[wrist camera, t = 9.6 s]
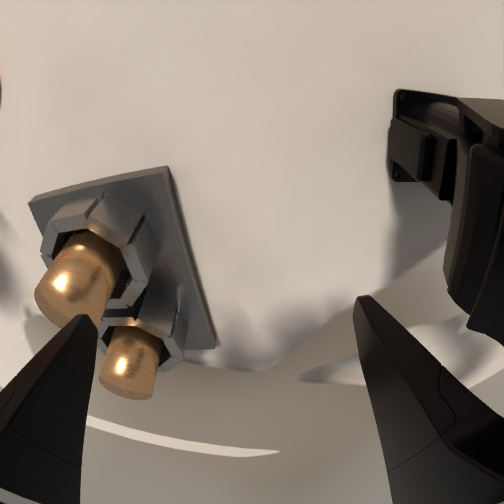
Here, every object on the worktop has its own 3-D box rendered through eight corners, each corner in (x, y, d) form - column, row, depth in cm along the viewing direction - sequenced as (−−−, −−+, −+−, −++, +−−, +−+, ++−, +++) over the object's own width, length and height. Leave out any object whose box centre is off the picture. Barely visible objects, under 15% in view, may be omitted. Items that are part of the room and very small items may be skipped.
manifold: (35, 195, 19) (-24, 258, 12) (167, 165, 18) (124, 235, 12) (112, 340, 30) (93, 403, 23) (215, 339, 29) (210, 413, 22)
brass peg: (139, 261, 21) (110, 335, 16) (92, 266, 22) (58, 333, 16) (119, 210, 19) (74, 280, 13) (70, 219, 19) (22, 284, 13)
